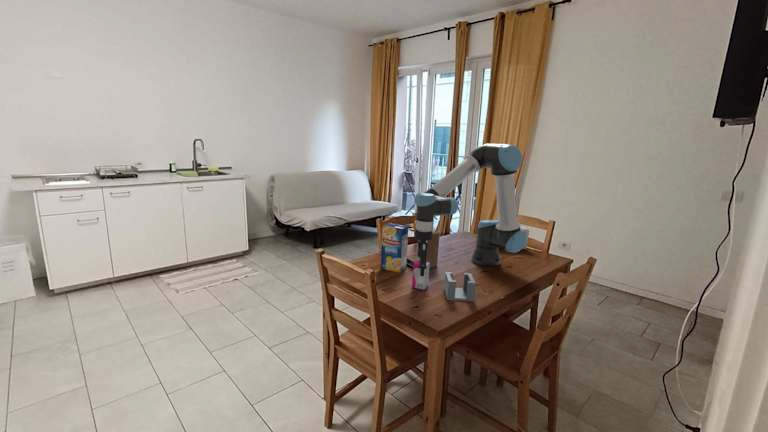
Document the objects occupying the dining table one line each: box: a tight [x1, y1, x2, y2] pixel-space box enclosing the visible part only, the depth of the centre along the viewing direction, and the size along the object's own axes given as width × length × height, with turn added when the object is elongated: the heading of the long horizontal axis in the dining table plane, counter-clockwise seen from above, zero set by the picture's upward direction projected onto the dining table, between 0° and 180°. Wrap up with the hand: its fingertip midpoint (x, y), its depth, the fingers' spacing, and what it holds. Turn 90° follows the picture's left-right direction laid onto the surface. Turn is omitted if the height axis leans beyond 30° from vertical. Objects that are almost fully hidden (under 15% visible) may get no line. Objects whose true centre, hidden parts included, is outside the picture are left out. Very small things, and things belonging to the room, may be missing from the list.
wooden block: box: [426, 230, 441, 270], centre depth 187 cm, size 9×4×18 cm, turn 135°
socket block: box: [443, 271, 477, 302], centre depth 155 cm, size 11×11×8 cm
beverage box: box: [380, 222, 409, 273], centre depth 182 cm, size 7×11×22 cm, turn 62°
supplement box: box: [411, 260, 430, 291], centre depth 161 cm, size 6×6×12 cm
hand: (420, 276), depth 161 cm, fingers open, 13 cm apart
